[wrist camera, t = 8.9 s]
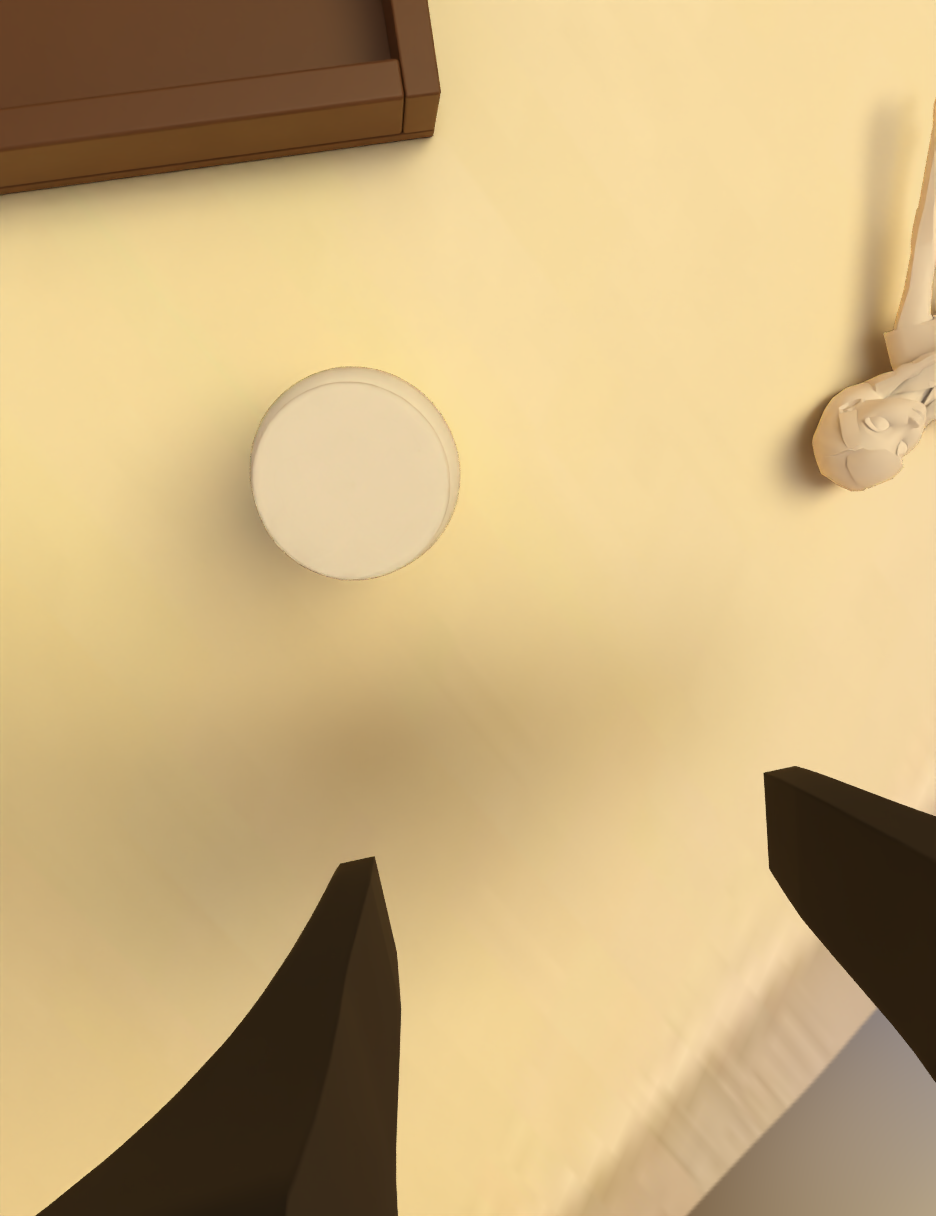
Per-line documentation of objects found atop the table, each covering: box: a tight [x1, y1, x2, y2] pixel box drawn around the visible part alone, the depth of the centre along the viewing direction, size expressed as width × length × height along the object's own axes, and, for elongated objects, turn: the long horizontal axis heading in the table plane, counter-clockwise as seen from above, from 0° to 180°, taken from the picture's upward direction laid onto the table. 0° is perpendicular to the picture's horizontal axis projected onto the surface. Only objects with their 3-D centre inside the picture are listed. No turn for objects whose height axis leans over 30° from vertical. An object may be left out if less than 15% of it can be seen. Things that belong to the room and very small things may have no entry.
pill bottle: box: [250, 367, 460, 580], centre depth 16 cm, size 4×4×8 cm
